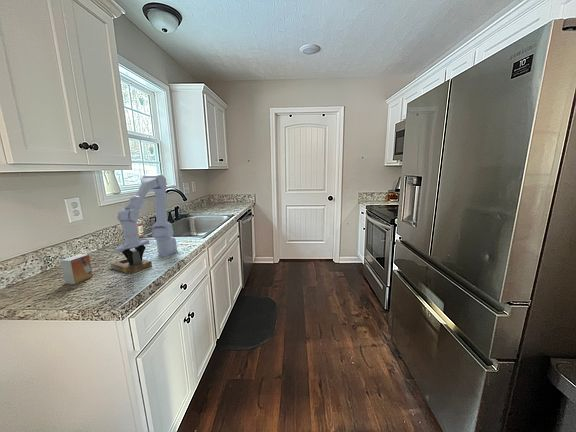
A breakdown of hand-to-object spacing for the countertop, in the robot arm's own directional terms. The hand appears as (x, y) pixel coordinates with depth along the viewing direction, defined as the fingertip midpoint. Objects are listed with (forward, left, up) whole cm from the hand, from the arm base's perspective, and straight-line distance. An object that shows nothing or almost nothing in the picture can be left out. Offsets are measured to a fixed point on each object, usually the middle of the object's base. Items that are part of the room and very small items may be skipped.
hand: (135, 262), depth 114 cm
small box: (+18, -12, -4) cm, 22 cm away
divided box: (0, -4, -3) cm, 5 cm away
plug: (0, 0, -2) cm, 2 cm away
